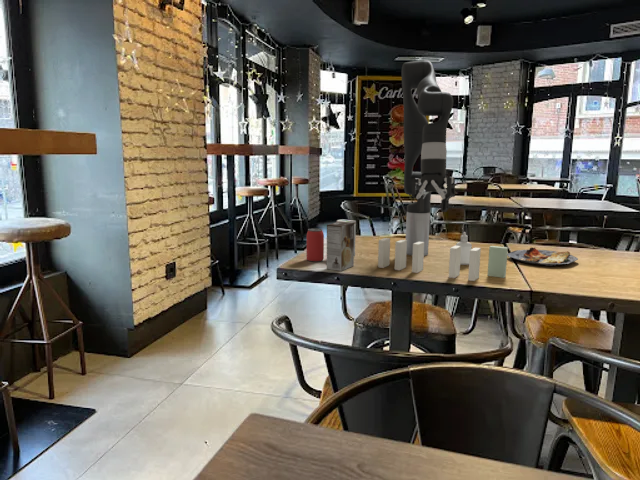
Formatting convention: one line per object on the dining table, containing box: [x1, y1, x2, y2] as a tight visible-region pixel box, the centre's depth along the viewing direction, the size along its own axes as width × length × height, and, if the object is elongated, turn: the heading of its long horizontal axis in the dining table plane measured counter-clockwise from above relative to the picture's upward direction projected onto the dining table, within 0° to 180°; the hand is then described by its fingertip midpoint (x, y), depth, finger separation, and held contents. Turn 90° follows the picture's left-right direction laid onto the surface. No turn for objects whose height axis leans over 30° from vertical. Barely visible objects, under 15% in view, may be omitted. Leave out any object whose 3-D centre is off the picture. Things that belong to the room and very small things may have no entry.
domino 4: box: [448, 244, 461, 279], centre depth 164 cm, size 6×2×10 cm, turn 148°
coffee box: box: [326, 221, 355, 272], centre depth 175 cm, size 9×6×16 cm
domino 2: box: [394, 239, 407, 271], centre depth 175 cm, size 6×2×10 cm, turn 147°
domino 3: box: [411, 242, 425, 274], centre depth 171 cm, size 6×2×10 cm, turn 148°
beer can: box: [306, 227, 325, 263], centre depth 187 cm, size 7×7×12 cm
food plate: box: [507, 247, 579, 267], centre depth 190 cm, size 25×23×4 cm
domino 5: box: [467, 247, 482, 282], centre depth 161 cm, size 6×2×10 cm, turn 148°
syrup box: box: [336, 218, 357, 257], centre depth 194 cm, size 6×6×14 cm
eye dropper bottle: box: [455, 231, 473, 266], centre depth 182 cm, size 4×6×12 cm
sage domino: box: [487, 245, 509, 279], centre depth 165 cm, size 6×2×10 cm, turn 58°
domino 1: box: [377, 237, 391, 269], centre depth 178 cm, size 6×2×10 cm, turn 148°
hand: (432, 211), depth 151 cm, fingers open, 8 cm apart
